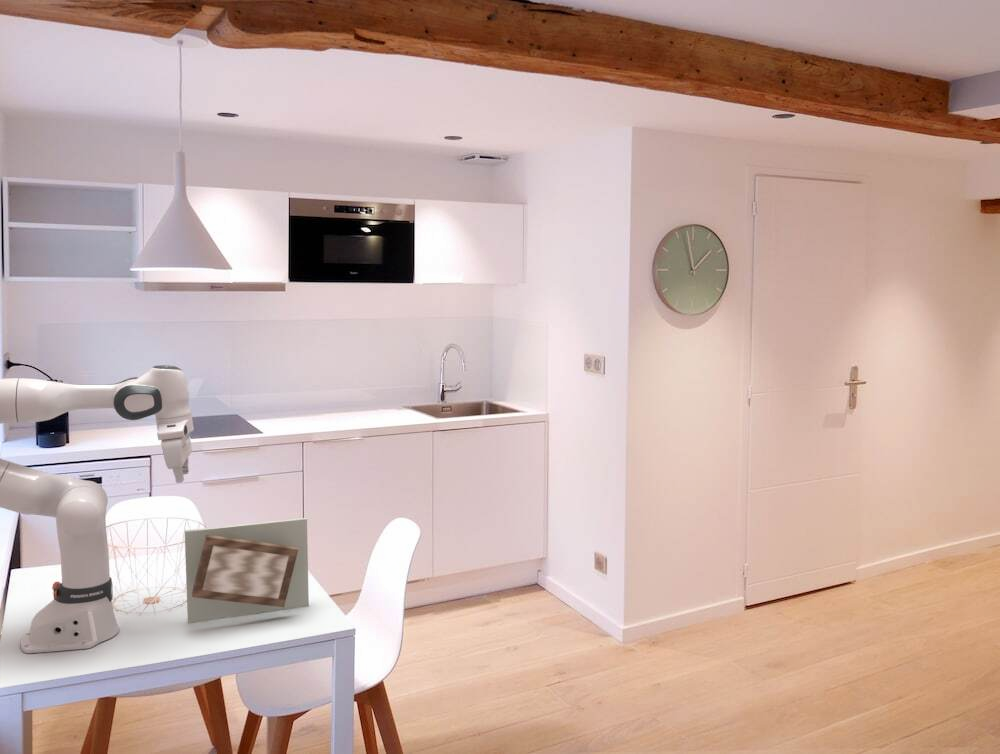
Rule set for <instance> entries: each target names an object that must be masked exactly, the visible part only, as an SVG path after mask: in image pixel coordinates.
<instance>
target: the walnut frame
mask: <svg viewBox="0 0 1000 754" xmlns="http://www.w3.org/2000/svg"><path fill="white" fill-rule="evenodd" d="M297 553H298V548H297V547H292V546H285V545H278V544H271V543H264V542H257V541H249V540H242V539H235V538H228V537H221V536H214V535H206V538H205V542H204V546H203V550H202V554H201V558H200V562H199V566H198V570H197V574H196V578H195V582H194V586H193V590H192V597H195V598H204V599H213V600H222V601H231V602H240V603H249V604H259V605H268V606H277V607H284V606H285V602H286V598H287V594H288V590H289V585H290V581H291V577H292V573H293V569H294V565H295V561H296V557H297Z"/></svg>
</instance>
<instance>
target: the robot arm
mask: <svg viewBox="0 0 1000 754" xmlns="http://www.w3.org/2000/svg"><path fill="white" fill-rule="evenodd" d="M189 401H190V393H189V387H188V382H187V378H186V375H185V373H184V371H183V370H182V369H181V368H179V367H178V366H176V365H169V364H167V365H166V364H165V365H163V364H162V365H154V366H151V368H150V369H149V370H148V371H146V372H145V373H144V374H142V375H141V376H138V377H137V376H136V377H135V376H134V377H129V378H127V379H124V380H122V381H120V382H116V383H110V384H109V383H108V384H71V383H64V382H58V381H53V380H47V379H40V378H30V377H28V378H26V377H24V378H23V377H20V378H19V377H15V378H13V377H12V378H11V377H9V378H8V377H7V378H0V424H32V423H38V422H39V423H40V422H45V421H50V420H52V419H55V418H57V417H59V416H61V415H64V414H65V413H69V412H71V411H72V412H73V411H75V410H76V411H77V410H87V409H88V410H89V409H91V410H92V409H93V410H94V409H95V410H97V409H99V410H100V409H113V410H115V411H116V413H117V415H119V416H120V417H121V418H123V419H126V420H128V421H129V420H130V421H140V420H142V419H144V418H148V417H150V416H153V415H154V416H155V421H156V422H155V423H156V428H157V434H156V435H157V439H158V441H160V442H161V443H160V444H161V445H160V446H161V449H162V454H163V458H164V462H165V466H166V468H167V469H168V470H172V473H173V475H174V478H175V482H176V483H177V484H179V483H183V482H184V480H185V479H184V475H188V474H189V472H190V469H189V457H190V455H191V454H192V450H193V449H192V442H191V437H190V436H191V435H190V433H192V432H194V430H195V429H194V428H195V427H194V420H193V415H192V413H193V412H192V410H191V407H190V404H189ZM107 507H108V495H107V492H106V490H105V489H104V488H103V486H101V485H100V484H99V483H97V482H95V481H92V480H88V479H87V480H86V479H81V478H76V477H74V476H73V477H71V476H67V475H62V474H58V473H57V474H55V473H50V472H46V471H42V470H37V469H35V468H31V467H29V466H25V465H21V464H19V463H16V462H12V461H10V460H6V459H2V458H0V508H1V509H5V510H7V511H11V512H14V513H18V514H22V515H29V516H31V515H35V516H44V517H49V518H50V517H51V518H54V519H55V521H56V522H55V523H56V532H57V533H56V534H57V541H58V547H59V554H60V567H61V582H60V581H54V582H53V584H52V590H53V592H52V593H53V594H52V595H53V600H52V601H50V602H49V603H47V604H46V605H45V606H44V607H43V608H41V609H40V610H39V611H38V612H37V613H36V614H35V615H34V617H33V619H32V620H31V624H30V629H29V630H28V631H27V632H26V633H25V634H24V635H23V636H22V638H21V640H20V645H19V646H20V649H21V652H23V653H25V654H36V653H47V652H62V651H72V650H73V651H74V650H85V649H91V648H93V647H96V645H98V644H100V643H102V642H105V641H107V640H110V639H111V638H113V637H115V636H116V635H117V634H118V633H119V632H120V627H119V625H118V623H117V620H116V616H115V612H114V608H113V606H114V605H113V601H112V600H113V597H114V589H113V582H112V581H113V580H112V577H111V575H110V553H109V552H110V551H109V550H110V549H109V545H108V544H109V543H108V536H107V535H108V534H107V524H106V523H107V521H106V515H107V514H106V513H107Z"/></svg>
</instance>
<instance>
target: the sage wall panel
mask: <svg viewBox="0 0 1000 754" xmlns="http://www.w3.org/2000/svg"><path fill="white" fill-rule="evenodd" d="M206 535H214V536H221V537H228V538H235V539H242V540H249V541H257V542H264V543H271V544H278V545H285V546H292V547H297V548H298V553H297V557H296V561H295V565H294V569H293V573H292V577H291V581H290V585H289V590H288V594H287V598H286V602H285V606H284V607H277V606H268V605H259V604H249V603H240V602H231V601H222V600H213V599H204V598H195V597H192V590H193V586H194V582H195V578H196V574H197V570H198V566H199V562H200V558H201V554H202V550H203V546H204V542H205V538H206ZM184 548H185V549H184V550H185V551H184V552H185V553H184V554H185V555H184V557H185V558H184V559H185V577H186V578H185V581H186V583H185V584H186V606H187V613H186V614H187V624H194V623H199V622H207V621H213V620H214V619H215V620H222V619H227V618H228V617H229V618H235V617H240V616H248V614H249V615H256V614H260V613H262V614H263V613H269V612H270V613H271V612H275V611H276V612H278V611H283V610H288V609H289V610H291V609H297V608H301V607H302V608H303V607H309V605H310V604H309V559H308V558H309V556H308V555H309V553H308V552H309V551H308V550H309V549H308V548H309V547H308V518H306V517H299V518H291V519H289V518H288V519H282V520H281V519H280V520H271V521H263V522H254V523H253V522H251V523H242V524H232V525H223V526H213V527H203V528H196V529H187V530H184ZM221 618H222V619H221Z"/></svg>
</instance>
